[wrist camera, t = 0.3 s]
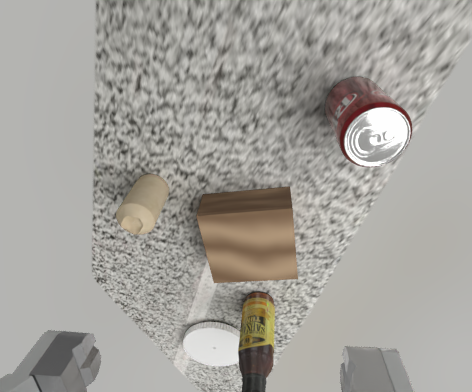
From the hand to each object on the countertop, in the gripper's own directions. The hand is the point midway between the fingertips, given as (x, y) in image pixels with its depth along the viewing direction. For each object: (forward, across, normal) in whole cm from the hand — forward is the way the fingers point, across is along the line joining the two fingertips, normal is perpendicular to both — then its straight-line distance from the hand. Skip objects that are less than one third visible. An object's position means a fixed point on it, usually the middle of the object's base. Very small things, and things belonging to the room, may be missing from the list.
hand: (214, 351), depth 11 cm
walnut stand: (+41, +2, +20) cm, 46 cm away
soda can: (+40, -12, 0) cm, 41 cm away
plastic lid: (+45, +11, +52) cm, 70 cm away
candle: (+40, +18, +13) cm, 46 cm away
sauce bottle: (+44, +1, +39) cm, 58 cm away
